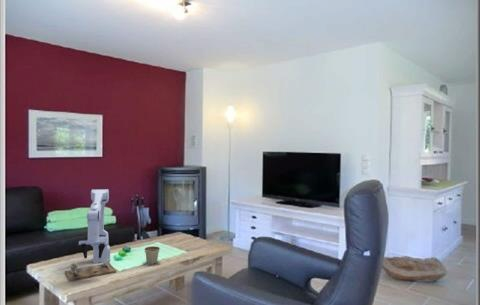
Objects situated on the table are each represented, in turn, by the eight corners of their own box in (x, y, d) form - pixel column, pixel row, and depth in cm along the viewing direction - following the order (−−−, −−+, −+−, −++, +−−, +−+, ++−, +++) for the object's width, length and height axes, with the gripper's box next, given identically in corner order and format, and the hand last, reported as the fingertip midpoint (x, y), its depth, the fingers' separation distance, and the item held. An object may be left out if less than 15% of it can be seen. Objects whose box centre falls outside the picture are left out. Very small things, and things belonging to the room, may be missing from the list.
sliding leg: (107, 263, 206) (107, 258, 206) (111, 267, 199) (111, 262, 199) (102, 264, 204) (102, 258, 204) (106, 268, 197) (106, 263, 197)
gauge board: (109, 264, 209) (109, 255, 208) (116, 272, 197) (116, 262, 197) (64, 273, 195) (64, 263, 195) (69, 281, 183) (69, 271, 183)
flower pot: (158, 259, 221) (158, 245, 220) (160, 264, 212) (161, 250, 212) (143, 260, 217) (143, 246, 217) (144, 265, 208) (145, 251, 208)
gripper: (76, 234, 186) (76, 260, 185) (104, 233, 187) (103, 259, 186) (82, 231, 193) (81, 256, 193) (108, 231, 194) (108, 256, 193)
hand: (92, 258), depth 190 cm, fingers open, 7 cm apart
